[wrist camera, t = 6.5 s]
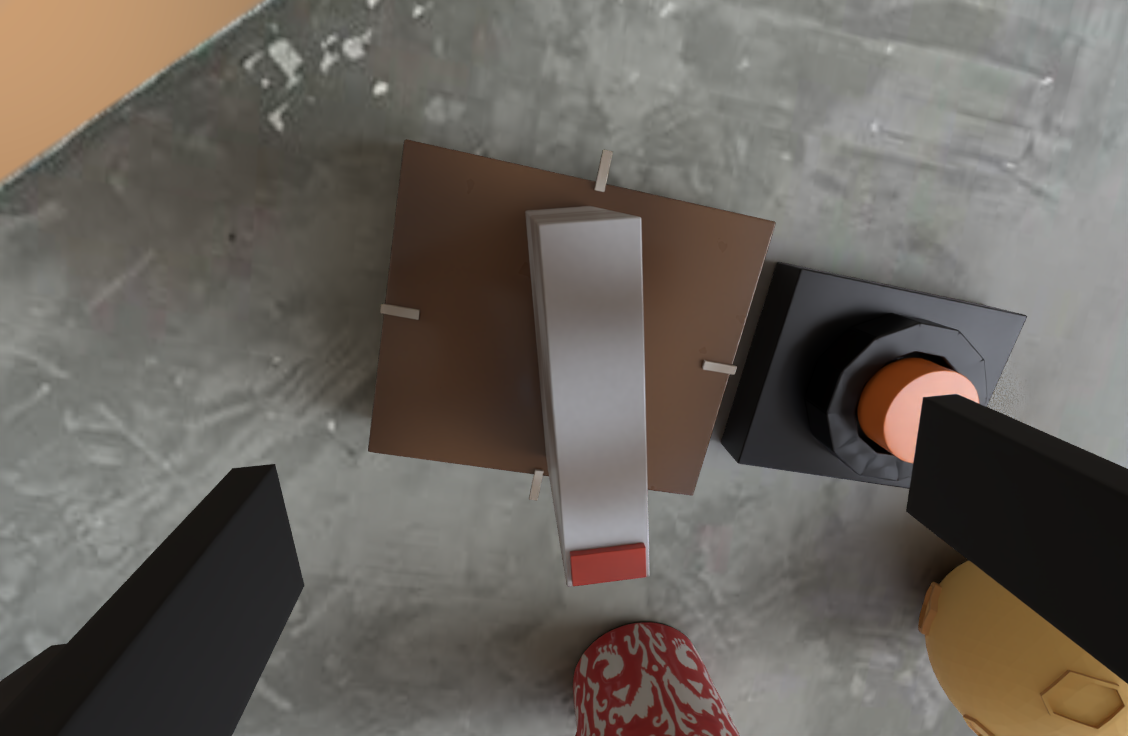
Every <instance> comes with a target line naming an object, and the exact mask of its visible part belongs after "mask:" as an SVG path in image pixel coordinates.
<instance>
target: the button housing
mask: <svg viewBox="0 0 1128 736" xmlns="http://www.w3.org/2000/svg"><path fill="white" fill-rule="evenodd" d="M1026 318H1027V316H1026V315H1023V314H1019V313H1015V312H1011V311H1007V310H1003V309H999V308H995V307H991V306H986V305H982V304H977V303H972V302H967V301H963V300H958V299H953V298H948V297H944V296H939V295H934V294H929V293H925V292H920V291H915V290H910V289H906V288H901V287H896V286H891V285H887V284H882V283H877V282H873V281H868V280H863V279H858V278H854V277H849V276H844V275H839V274H835V273H830V272H825V271H820V270H816V269H811V268H806V267H801V266H797V265H792V264H787V263H782V262H777V264H776V267H775V270H774V274H773V277H772V280H771V283H770V286H769V290H768V293H767V296H766V299H765V302H764V306H763V309H762V312H761V315H760V318H759V322H758V325H757V328H756V331H755V335H754V338H753V341H752V344H751V347H750V351H749V354H748V357H747V360H746V363H745V367H744V370H743V373H742V376H741V380H740V383H739V386H738V389H737V392H736V396H735V399H734V402H733V405H732V408H731V412H730V415H729V418H728V421H727V424H726V428H725V431H724V434H723V437H722V441H721V444H722V445H723V446H724V447H725V449H726V450H727V451H728V452H729V453H730V454H731V456H732V457H733V458H734V459H735V460H736V461H737V463H739V464H746V465H752V466H759V467H766V468H773V469H779V470H786V471H793V472H800V473H807V474H813V475H820V476H827V477H834V478H841V479H847V480H854V481H861V482H868V483H875V484H881V485H888V486H895V487H902V488H909V489H910V482H911V475H912V468H913V463H909V462H905V461H903V460H900V459H899V458H897V457H896V456H894V455H893V454H891V453H890V452H888V451H887V450H885V449H884V448H882V447H881V446H879V445H878V444H877V443H875V442H874V441H872V440H871V439H870V438H868V437H867V436H866V435H865V433H864V432H863V430H862V429H861V427H860V424H859V421H858V414H857V409H858V402H859V398H860V395H861V393H862V391H863V389H864V387H865V385H866V384H867V382H868V381H869V380H870V378H871V377H872V376H873V375H874V374H875V373H876V372H878V371H879V370H880V369H881V368H883V367H884V366H886V365H888V364H889V363H891V362H894V361H896V360H900V359H904V358H922V359H926V360H928V361H931V362H933V363H936V364H938V365H941V366H943V367H946V368H948V369H950V370H953V371H955V372H958V373H960V374H962V375H964V376H965V377H967V378H968V379H969V380H970V381H971V382H972V384H973V385H974V387H975V389H976V390H977V393H978V397H979V404H981V405H983V406H986V407H987V405H988V402H989V400H990V398H991V396H992V394H993V391H994V389H995V387H996V385H997V382H998V380H999V378H1000V376H1001V374H1002V371H1003V369H1004V367H1005V365H1006V362H1007V360H1008V358H1009V356H1010V353H1011V351H1012V349H1013V347H1014V345H1015V342H1016V340H1017V338H1018V336H1019V333H1020V331H1021V329H1022V327H1023V325H1024V322H1025V320H1026Z"/></svg>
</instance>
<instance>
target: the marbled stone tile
mask: <svg viewBox="0 0 1128 736" xmlns="http://www.w3.org/2000/svg"><path fill="white" fill-rule="evenodd" d="M525 214H526V226H527V237H528V249H529V261H530V273H531V284H532V296H533V308H534V320H535V331H536V343H537V355H538V366H539V378H540V390H541V402H542V413H543V425H544V437H545V449H546V459H547V465H548V472H549V478H550V484H551V490H552V497H553V503H554V509H555V516H556V522H557V528H558V534H559V541H560V547H561V553H562V560H563V566H564V572H565V578H566V585H567V586H568V587H569V586H580V585H588V584H596V583H603V582H611V581H619V580H627V579H635V578H643V577H648V576H649V575H650V572H649V529H648V486H647V442H646V399H645V355H644V312H643V269H642V225H641V217H638V216H634V215H629V214H624V213H620V212H615V211H610V210H606V209H601V208H597V207H592V206H582V207H568V208H555V209H541V210H528V211H526V212H525Z"/></svg>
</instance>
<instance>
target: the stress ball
mask: <svg viewBox="0 0 1128 736" xmlns="http://www.w3.org/2000/svg"><path fill="white" fill-rule="evenodd" d="M918 630H919V631H920V632H921V633H922V634H924V635H925V640H926V647H927V651H928V656H929V660H930V663H931V665H932V668H933V671H934V673H935V675H936V677H937V679H938V681H939V683H940V685H941V687H942V688H943V690H944V691H945V693H946V695H947V696H948V698H949V699H950V701H951V702H952V703H953V704H954V706H955V707H956V708H957V709H958V711H959V712H960V713H961V714H962V715H963V718H964V720H965V721H966V723H967V724H968V726H969V727H970V728H971V729H972V730H973V731H974V732H975V733H976V734H977V735H978V736H1128V684H1127V683H1126V682H1125V681H1123V680H1122V679H1121V678H1119V677H1118V676H1117V675H1116V674H1114V673H1113V672H1112V671H1110V670H1109V669H1108V668H1107V667H1105V666H1104V665H1103V664H1101V663H1100V662H1099V661H1098V660H1096V659H1095V658H1094V657H1092V656H1091V655H1090V654H1089V653H1087V652H1086V651H1085V650H1083V649H1082V648H1081V647H1080V646H1078V645H1077V644H1076V643H1074V642H1073V641H1072V640H1071V639H1069V638H1068V637H1067V636H1065V635H1064V634H1063V633H1062V632H1060V631H1059V630H1058V629H1056V628H1055V627H1054V626H1053V625H1051V624H1050V623H1049V622H1047V621H1046V620H1045V619H1044V618H1042V617H1041V616H1040V615H1039V614H1037V613H1036V612H1035V611H1033V610H1032V609H1031V608H1030V607H1028V606H1027V605H1026V604H1024V603H1023V602H1022V601H1021V600H1019V599H1018V598H1017V597H1015V596H1014V595H1013V594H1012V593H1010V592H1009V591H1008V590H1006V589H1005V588H1004V587H1003V586H1001V585H1000V584H999V583H997V582H996V581H995V580H994V579H992V578H991V577H990V576H988V575H987V574H986V573H985V572H983V571H982V570H981V569H979V568H978V567H977V566H976V565H974V564H973V563H972V562H970V561H969V560H968V561H966V562H965V563H963V564H961V565H959V566H957V567H956V568H955V569H954V570H952V571H951V572H950V573H949V574H948V575H947V576H946V577H945V578H944V579H943V580H942V581H941V582H940V584H938V583H936V582H932V583H931V585H930V587H929V589H928V591H927V593H926V595H925V599H924V603H923V606H922V609H921V612H920V617H919V625H918Z"/></svg>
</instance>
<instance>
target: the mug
mask: <svg viewBox="0 0 1128 736" xmlns="http://www.w3.org/2000/svg"><path fill="white" fill-rule="evenodd" d="M573 696H574V707H575V715H576V724H577V732H576V735H575V736H740V735H739V733H738V731H737V729H736V727H735V725H734V723H733V721H732V719H731V717H730V715H729V713H728V711H727V710H726V708H725V706H724V704H723V702H722V700H721V698H720V696H719V694H718V692H717V690H716V688H715V686H714V684H713V682H712V680H711V678H710V676H709V674H708V672H707V670H706V667H705V665H704V663H703V661H702V659H701V658H700V656H699V654H698V652H697V650H696V649H695V647H694V645H693V644H692V643H691V641H690V640H689V639H688V638H687V637H686V636H685V635H684V634H683V633H681V632H680V631H678V630H676V629H674V628H672V627H670V626H667V625H663V624H659V623H652V622H648V623H645V622H643V623H633V624H628V625H624V626H621V627H619V628H616V629H613V630H611V631H609V632H607V633H605V634H604V635H602V636H601V637H599V638H598V639H597V640H596V641H595V642H593V643H592V644H591V645H590V646H589V647H588V648H587V650H586V651H585V652H584V653H583V655H582V656H581V658H580V660H579V662H578V664H577V666H576V668H575V672H574V678H573Z"/></svg>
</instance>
